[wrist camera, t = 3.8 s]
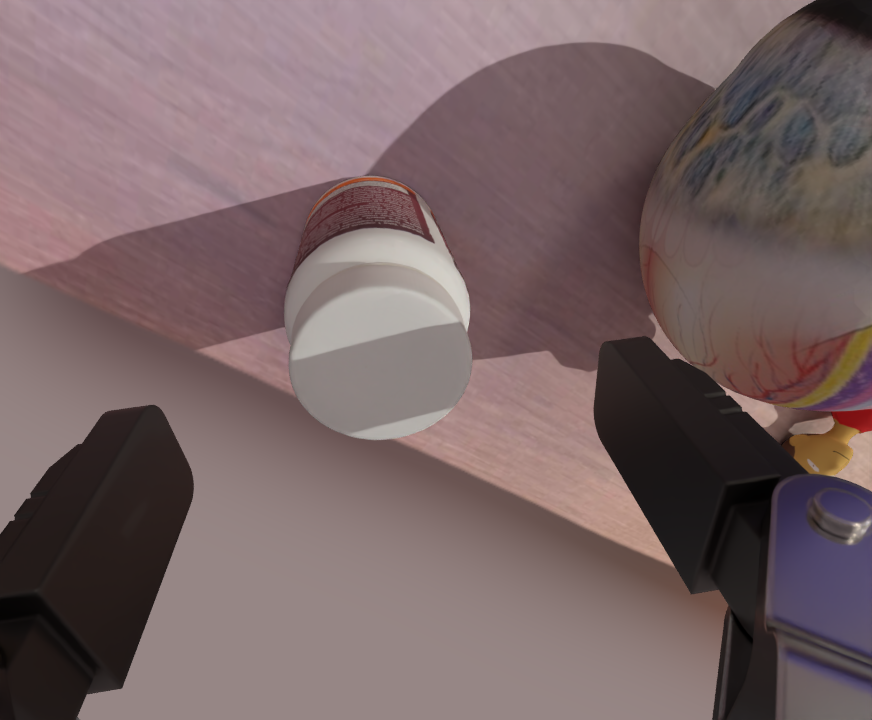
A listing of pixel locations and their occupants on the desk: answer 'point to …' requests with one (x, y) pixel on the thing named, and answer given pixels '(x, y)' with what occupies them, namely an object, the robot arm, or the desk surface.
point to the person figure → (829, 443)
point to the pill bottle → (376, 313)
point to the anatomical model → (774, 219)
